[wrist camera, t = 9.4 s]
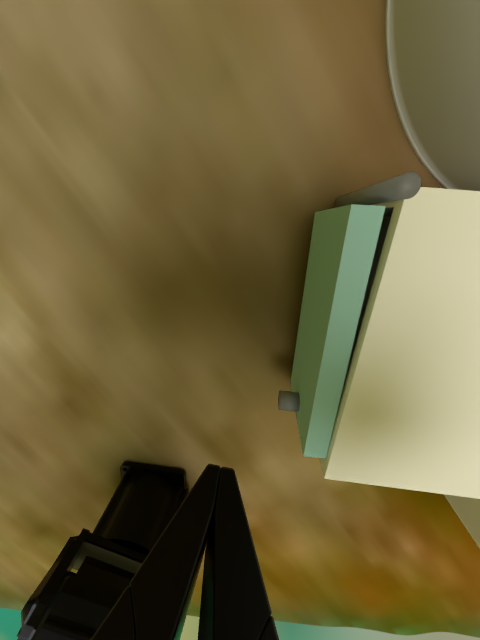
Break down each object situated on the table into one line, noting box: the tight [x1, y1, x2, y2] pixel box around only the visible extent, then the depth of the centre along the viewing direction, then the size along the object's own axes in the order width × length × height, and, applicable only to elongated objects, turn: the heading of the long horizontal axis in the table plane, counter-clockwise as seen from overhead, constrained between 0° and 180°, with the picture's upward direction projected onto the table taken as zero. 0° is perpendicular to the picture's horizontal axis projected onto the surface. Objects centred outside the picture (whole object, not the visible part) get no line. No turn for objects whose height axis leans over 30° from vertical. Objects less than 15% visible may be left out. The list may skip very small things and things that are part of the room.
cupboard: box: [319, 172, 480, 499], centre depth 14 cm, size 9×14×8 cm, turn 176°
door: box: [278, 204, 386, 458], centre depth 14 cm, size 12×2×7 cm, turn 177°
